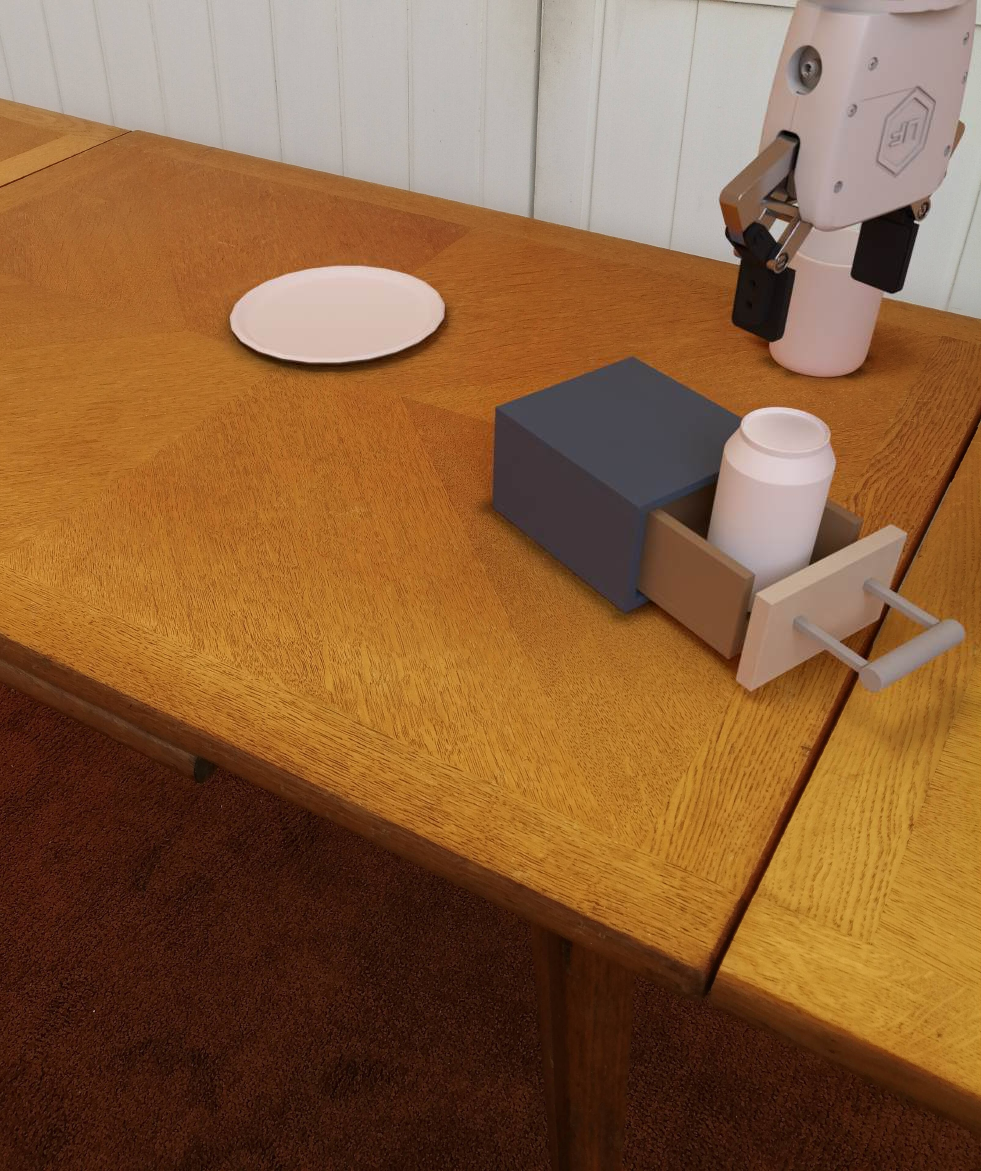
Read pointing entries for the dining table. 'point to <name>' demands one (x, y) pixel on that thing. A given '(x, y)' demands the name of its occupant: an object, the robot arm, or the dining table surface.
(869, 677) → the drawer
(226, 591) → the dining table surface
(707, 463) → the cabinet
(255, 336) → the plate
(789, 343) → the cup
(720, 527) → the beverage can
